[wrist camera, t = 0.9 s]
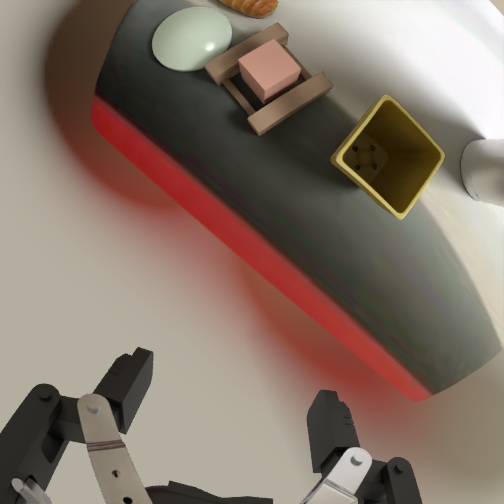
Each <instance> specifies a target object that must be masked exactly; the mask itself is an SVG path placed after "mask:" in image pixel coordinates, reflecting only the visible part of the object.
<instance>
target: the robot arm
mask: <svg viewBox="0 0 504 504" xmlns="http://www.w3.org/2000/svg"><path fill="white" fill-rule="evenodd" d="M461 174H462V180H463V183H464V186H465V188H466V190H467V192H468V193H469V194H470V196H471V197H473V198H474V199H475V200H477V201H481V202H486V203H490V204H494V205H498V206H502V207H504V139H484V140H474V141H471V142H470V143H469V144H467V146H466V147H465V149H464V151H463V154H462V158H461ZM152 371H153V352H152V351H149V350H146V349H143V348H140V347H138V348H137V349H136V350H135V352H134V353H133V355H132V356H131V355H128V354H126V353H125V354H124V355H122V356H120V357H118V358H117V359H116V360H115V362H114V363H113V365H112V367H110V369H109V370H108V372H107V373H106V374H105V376H104V377H103V379H102V380H101V382H100V383H99V384H98V386H97V388H96V389H95V390H94V392H93V393H92V394H86V395H84V396H82V397H81V398H71V397H66V396H61V395H60V394H59V391H58V390H57V389H56V388H55V387H54V386H52V385H49V384H39V385H37V386H35V387H34V388H33V389H32V390H31V391H30V393H29V394H28V396H27V397H26V398H25V399H24V401H23V402H22V403H21V405H20V406H19V408H18V409H17V410H16V412H15V413H14V415H13V416H12V417H11V419H10V420H9V422H8V423H7V424H6V426H5V427H4V429H3V430H2V432H1V433H0V504H52V502H51V500H50V498H49V497H48V496H47V494H45V491H46V488H47V486H48V484H49V482H50V480H51V477H52V475H53V473H54V471H55V469H56V467H57V465H58V463H59V461H60V459H61V457H62V455H63V453H64V451H65V449H66V446H67V445H68V443H69V441H73V442H79V443H84V444H87V450H88V454H89V457H90V460H91V464H92V467H93V470H94V473H95V476H96V478H97V481H98V484H99V487H100V489H101V492H102V495H103V497H104V499H105V502H106V504H273V499H271V498H259V497H249V496H247V497H246V496H245V497H231V498H221V497H217V496H215V495H212V494H210V493H208V492H205V491H203V490H201V489H198V488H196V487H192V486H188V485H184V484H180V483H177V482H173V481H169V484H168V486H164V485H162V486H150V487H145V488H144V486H143V484H142V482H141V480H140V478H139V475H138V473H137V471H136V469H135V467H134V464H133V462H132V460H131V458H130V455H129V453H128V450H127V448H126V446H125V444H124V442H122V439H121V437H120V434H119V432H120V433H123V434H126V433H127V431H128V429H129V427H130V425H131V423H132V421H133V419H134V417H135V415H136V412H137V410H138V408H139V406H140V404H141V402H142V400H143V398H144V396H145V394H146V392H147V390H148V388H149V386H150V383H151V379H152V373H153V372H152ZM353 424H354V423H353V420H352V416H351V413H350V410H349V408H348V407H347V406H346V404H345V403H344V402H339V399H338V395H337V392H336V391H330V390H320V391H319V392H318V394H317V396H316V398H315V400H314V401H313V403H312V405H311V407H310V408H309V411H308V414H307V427H308V434H309V442H310V450H311V458H312V467H313V473H321V474H322V478H321V479H320V480H319V481H318V483H317V484H316V485H315V486H314V487H313V489H312V490H311V491H310V492H309V493H308V494H307V496H306V497H305V498H304V499H303V500H302V501H301V502H300V504H352V503H353V501H354V500H355V497H357V498H358V504H422V500H421V497H420V493H419V490H418V486H417V483H416V479H415V476H414V473H413V470H412V467H411V464H410V463H409V462H408V461H407V460H405V459H404V458H401V457H395V458H392V459H391V460H390V461H389V462H388V463H386V462H382V461H377V460H373V459H372V458H371V456H370V455H369V453H368V452H367V451H365V450H364V449H361V448H360V444H359V441H358V437H357V434H356V430H355V427H354V425H353Z"/></svg>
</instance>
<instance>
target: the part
mask: <svg viewBox="0 0 504 504" xmlns="http://www.w3.org/2000/svg"><path fill="white" fill-rule="evenodd" d="M238 62H239V67H240V71H241V76H242V79H243V80H244V81H245V82H246V83H247V85H248V86H249V87H250V88H251V89H252V91H253V92H254V93H255V94H256V95H257V97H258V98H259V99H260V100H261V102H262V103H263V104H264V105H265V104H267V103H268V102H270V101H271V100H273V99H274V98H276V97H277V96H279V95H281V94H282V93H284V92H286V91H287V90H289V89H290V88H292V87H294V86H295V84H296V81H297V79H298V76H299V74H300V71H301V68H300V67H299V66H298V64H297V63H296V62H295V61H294V60H293V59H292V58H291V56H290V55H289V54H288V53H287V52H286V51H285V50H284V49H283V48H282V47H281V45H280V44H279V43H278V42H277V41H276V40H275V39H273V40H271V41H269V42H267V43H265V44H263V45H262V46H260V47H258V48H256V49H255V50H253V51H251V52H250V53H248V54H246V55H245V56H243V57H241V58H240V59H238Z"/></svg>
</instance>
